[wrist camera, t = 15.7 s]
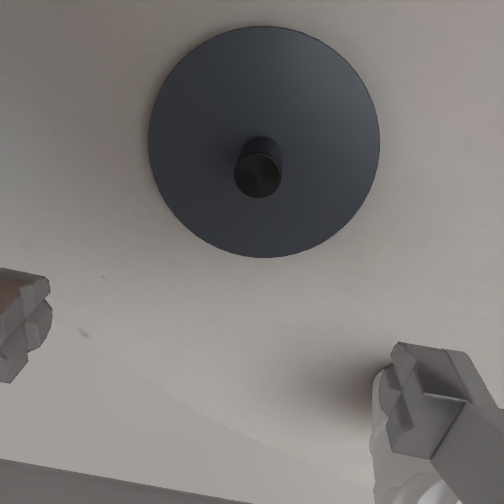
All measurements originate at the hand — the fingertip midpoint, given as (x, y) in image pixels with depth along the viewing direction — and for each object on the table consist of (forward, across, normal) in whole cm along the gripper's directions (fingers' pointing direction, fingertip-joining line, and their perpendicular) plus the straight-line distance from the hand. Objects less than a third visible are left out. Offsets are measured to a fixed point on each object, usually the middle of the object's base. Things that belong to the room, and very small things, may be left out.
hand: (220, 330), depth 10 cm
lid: (+16, 0, 0) cm, 16 cm away
